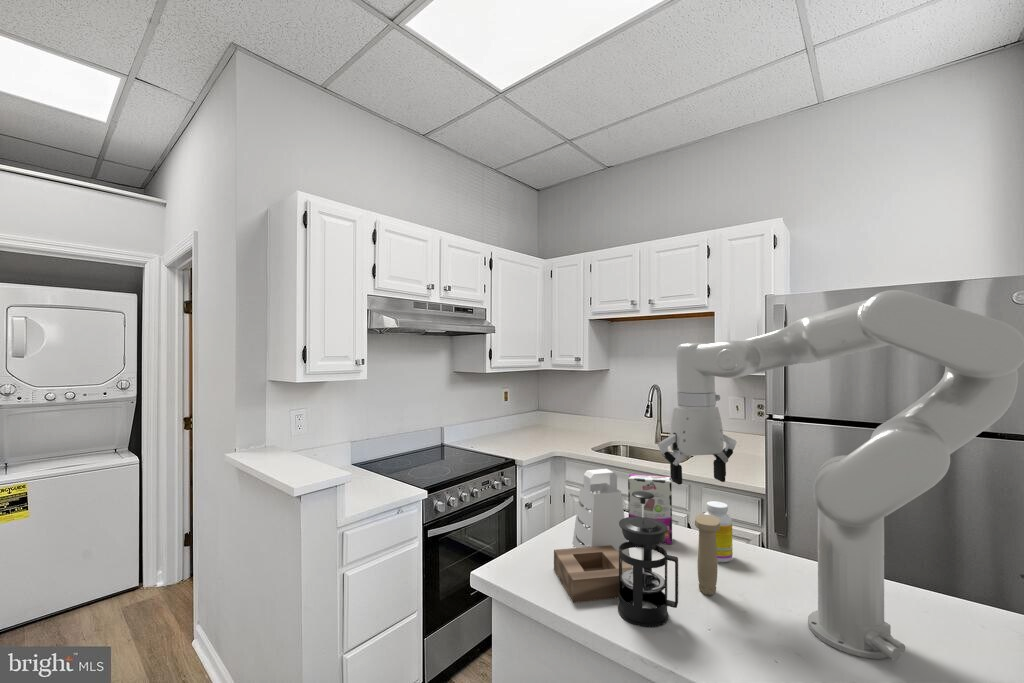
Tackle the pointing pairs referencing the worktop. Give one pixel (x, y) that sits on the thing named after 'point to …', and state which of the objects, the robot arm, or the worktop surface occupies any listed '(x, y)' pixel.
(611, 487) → the grater
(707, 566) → the handle
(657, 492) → the candy bar box
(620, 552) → the french press
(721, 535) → the supplement bottle
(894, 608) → the worktop surface
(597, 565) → the socket block
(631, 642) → the worktop surface
